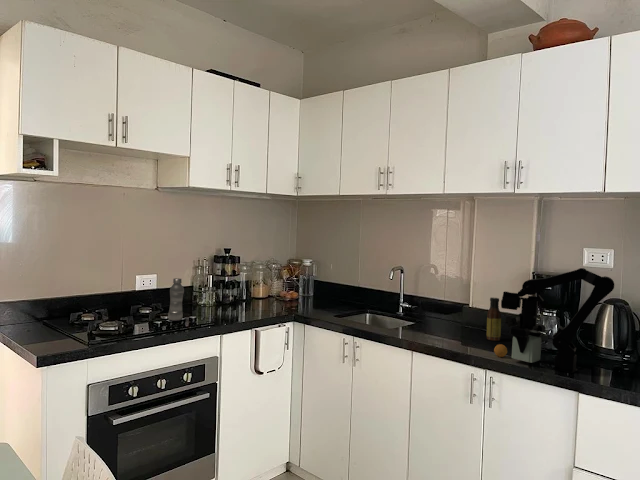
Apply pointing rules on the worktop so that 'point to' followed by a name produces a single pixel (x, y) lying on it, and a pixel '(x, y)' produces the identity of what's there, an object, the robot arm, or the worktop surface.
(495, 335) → the sauce bottle
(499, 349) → the ball
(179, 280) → the plastic bottle
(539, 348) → the sage green lidded box
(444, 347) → the worktop surface
